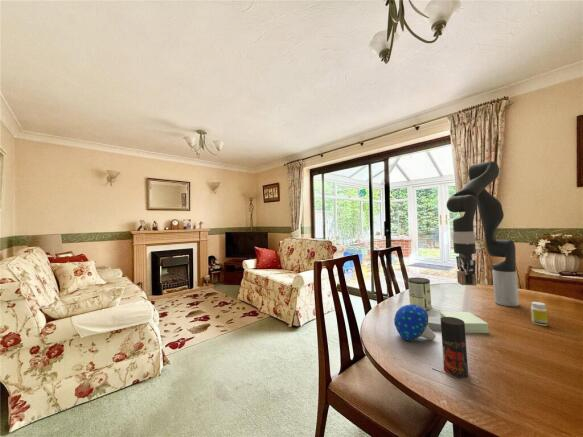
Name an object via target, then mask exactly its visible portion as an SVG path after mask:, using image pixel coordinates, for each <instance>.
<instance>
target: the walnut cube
mask: <svg viewBox="0 0 583 437" xmlns="http://www.w3.org/2000/svg"><path fill="white" fill-rule="evenodd" d="M456 274H457V275H456V277H457V283H458V284H460V285H462V286H473V287H475V286H476V287H477V286H478V285H477V275H476V272H475V274H473V275H472V278H473V284H466V277H465V275H466V274H465V271H459V270H456Z"/></svg>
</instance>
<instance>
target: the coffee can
mask: <svg viewBox="0 0 583 437" xmlns="http://www.w3.org/2000/svg"><path fill="white" fill-rule="evenodd" d="M407 281H408V297H409V305H417V306H420V307H422V308H423V309H424V310H425V311H426V310H430V309H433V308H432V297H431V295H432V294H431V285H430V284H431V283H430V282H431V280H430V279H429V278H425V277H419V276H418V277H408V278H407Z"/></svg>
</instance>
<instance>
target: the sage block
mask: <svg viewBox="0 0 583 437" xmlns="http://www.w3.org/2000/svg"><path fill="white" fill-rule="evenodd" d="M439 316H440V317H439V318H442V317H454V318H458V319H461V320H463V321H464V323H465V334H467V333H470V334H471V333H472V334H473V333H474V334H475V333H477V334H478V333H479V334H489V324H488V323H487V322H486V321H484V319H483V320H482V319H481V318H479V317H478V316H477V315H475V314H473V313H471V312H469V311H461V312H460V311H456V312H455V311H439Z"/></svg>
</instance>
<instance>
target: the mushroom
mask: <svg viewBox="0 0 583 437" xmlns="http://www.w3.org/2000/svg"><path fill="white" fill-rule="evenodd" d="M394 315H395V316H394V319H393V320H394V326H395V328H396V330H397V333H398V334H399V336H400V337H401V338H402V339H403V340H404V341H406V340H407V341H411V342H414V341H416V340H417V339H419V338H420V337H421V338H425V339H427V340H429V341H434V340H435V339H436V337H437V336H436V333H434V331H433V330H432V329H430V328H429V326H428V325H427V324H428V317H429V314H428V313H427V311H426V310H424V309H423V308H422V307H420V306H417V305H410V304H405V305H402V306H401V307H399V309H397V311H396V312H395V314H394Z"/></svg>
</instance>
